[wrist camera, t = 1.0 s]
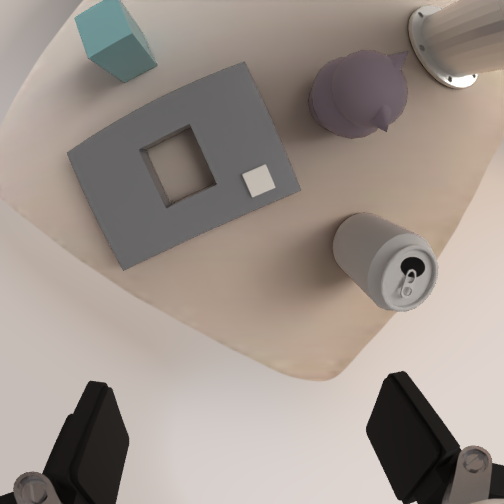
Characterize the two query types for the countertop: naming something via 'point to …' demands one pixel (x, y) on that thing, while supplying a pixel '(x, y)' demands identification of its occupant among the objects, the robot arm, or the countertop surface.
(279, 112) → the countertop surface
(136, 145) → the socket
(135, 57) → the plug
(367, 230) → the can
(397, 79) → the cat figurine
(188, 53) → the countertop surface
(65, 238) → the countertop surface
